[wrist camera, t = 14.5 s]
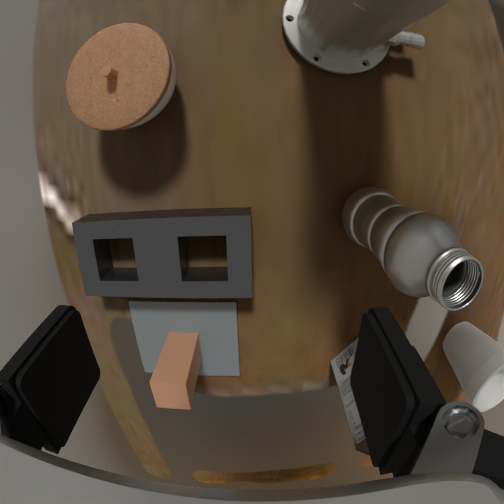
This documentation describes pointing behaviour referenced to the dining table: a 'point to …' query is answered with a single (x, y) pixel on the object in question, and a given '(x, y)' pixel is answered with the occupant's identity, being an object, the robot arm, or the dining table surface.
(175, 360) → the plug
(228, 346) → the mat
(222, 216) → the socket plate
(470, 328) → the foam cup
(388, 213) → the plastic bottle
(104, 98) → the lidded jar
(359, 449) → the coffee box
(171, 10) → the dining table surface
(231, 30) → the dining table surface
